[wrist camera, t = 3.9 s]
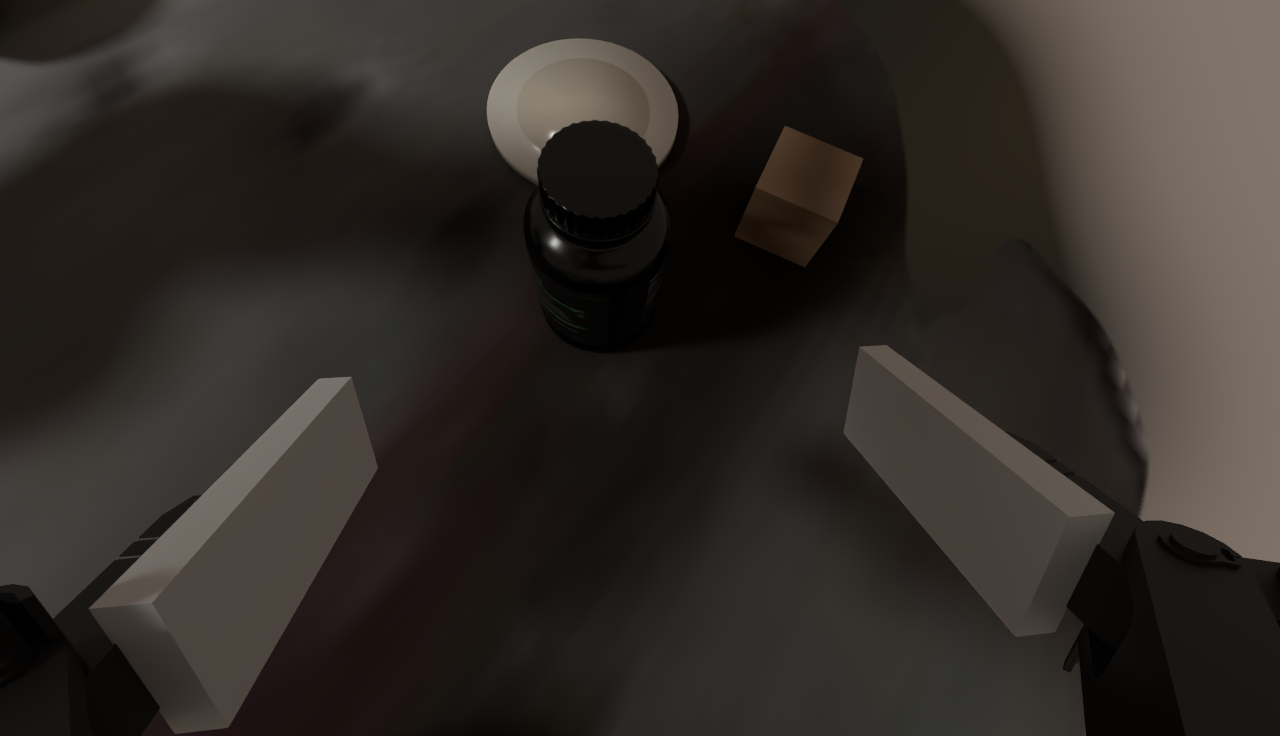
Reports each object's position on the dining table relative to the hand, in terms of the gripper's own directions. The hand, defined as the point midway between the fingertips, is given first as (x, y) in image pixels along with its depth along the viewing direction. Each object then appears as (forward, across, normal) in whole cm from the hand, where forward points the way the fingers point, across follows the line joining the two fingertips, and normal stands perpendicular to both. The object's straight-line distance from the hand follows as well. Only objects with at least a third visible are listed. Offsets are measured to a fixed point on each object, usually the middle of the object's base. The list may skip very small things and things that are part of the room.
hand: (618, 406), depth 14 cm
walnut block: (+22, +12, 0) cm, 25 cm away
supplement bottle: (+18, 0, -3) cm, 19 cm away
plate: (+28, 0, +7) cm, 29 cm away
